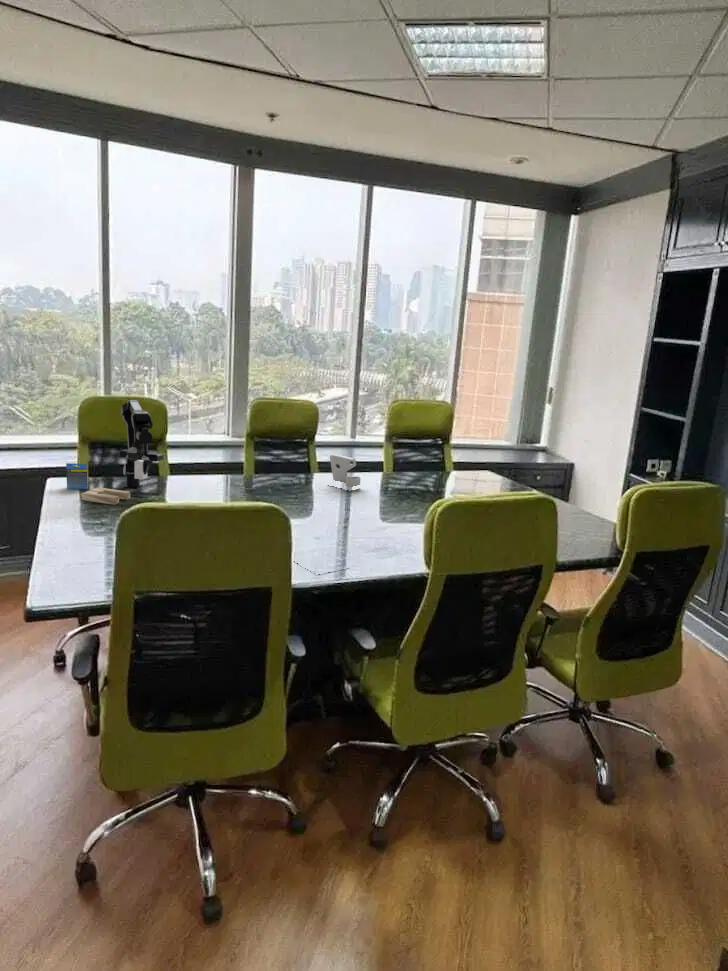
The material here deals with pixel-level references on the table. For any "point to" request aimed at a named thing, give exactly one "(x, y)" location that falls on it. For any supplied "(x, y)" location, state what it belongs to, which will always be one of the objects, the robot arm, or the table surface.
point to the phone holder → (343, 470)
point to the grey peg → (139, 470)
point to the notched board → (105, 495)
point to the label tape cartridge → (77, 476)
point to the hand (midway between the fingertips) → (141, 473)
